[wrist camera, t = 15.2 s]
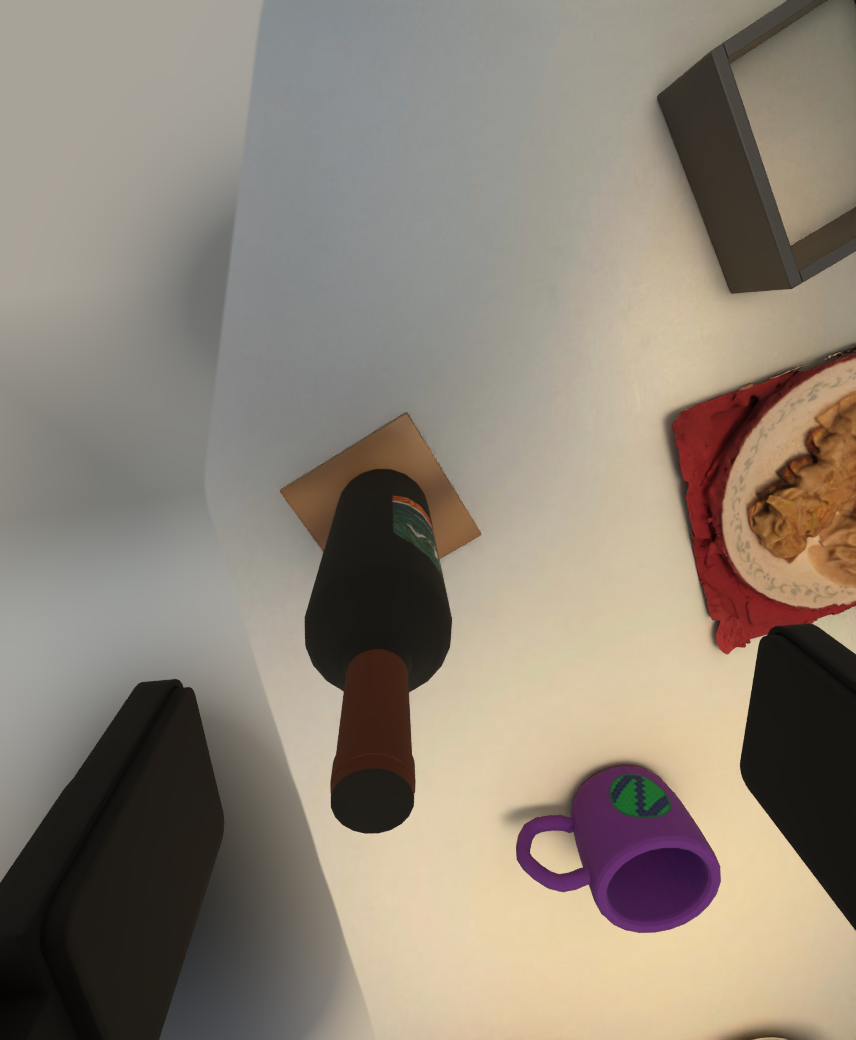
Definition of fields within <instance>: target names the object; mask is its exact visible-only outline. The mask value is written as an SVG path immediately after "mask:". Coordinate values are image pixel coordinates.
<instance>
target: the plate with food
mask: <svg viewBox="0 0 856 1040" xmlns="http://www.w3.org/2000/svg"><path fill="white" fill-rule="evenodd" d="M854 350H856V347H855V348H852V349H849V350H847V351H844V352H842V353H841V352H837V353H835V354H833V355H832V357H833V358H834V357H836V356H838V357H840V356H842V354H846V353H850V352H851V354H850V355H848V356H846V357H843V358H840V359H837V360H834V361H832V362H830V363H828V364H825V365H821V366H818V367H816V368H813V369H809V370H805V371H801V372H799V371H795V370H798V369H800V368H802V367H803V365H801V366H799V367H797V368H794V369H791V370H788V371H786V372H783V373H781V374H777V375H775V376H773V377H771V378H770V379H768V380H769V381H767V382H763V383H761V384H758V385H755V386H754V385H753V384H752V383H750V384H747V385H746V386H745V387H740V388H739V391H737V392H733V393H729V394H726V395H723V396H720V397H717V398H715V399H712V400H710V401H707V402H704V403H701V404H698V405H696V406H694V407H691V408H689V409H687V410H686V411H682V412H680V414H679V415H678V417H677V420H676V421H675V422H674V424H673V425H672V428H673V431H674V433H675V434H676V446H677V448H678V450H679V459H680V460H679V464H680V468H681V471H682V476H683V478H684V481H686V482H687V481H688V484H689V487H688V490H687V495H685V497H686V500H687V505H688V512H689V516H690V520H691V524H690V525H691V526H692V529H693V532H694V534H693V533H692V532H691V536H692V537H691V540H692V541H693V550H694V555H695V559H696V565H697V570H698V575H699V577H700V584H702V585H703V587H704V590H705V596H706V598H707V599H706V601H707V606H708V611H709V613H710V616H711V618H712V620H718V621H719V620H720V624H719V627H718V631H717V632H716V633H717V635H716V638H717V643H718V646H719V648H720V650H721V651H722V652H724V653H725V654H729V653H730V652H731V651H732V650H733V649H734V648H735V647H746V644H745V643H747V644H749V643H750V639H752V638H756V637H759V636H763V635H766V634H768V632H769V631H770V629H771V628H773V627H775V626H782V625H794V624H805V623H808V624H811V623H813V622H814V621H817V619H818V618H821V617H824V616H827V615H830V614H832V615H835V614H839V613H841V612H844V611H845V610H847V609H850V608H851V607H854V606H856V352H855V353H853V351H854ZM852 353H853V354H852ZM826 357H827V358H828V359H825V361H826V360H829V359H830V358H831V356H830V355H829V356H826ZM793 371H794V372H793ZM813 620H814V621H813Z"/></svg>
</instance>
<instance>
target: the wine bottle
mask: <svg viewBox="0 0 856 1040" xmlns="http://www.w3.org/2000/svg"><path fill="white" fill-rule="evenodd" d="M451 627H452V617H451V612H450V607H449V603H448V598H447V593H446V588H445V583H444V579H443V574H442V569H441V564H440V559H439V555H438V550H437V545H436V540H435V535H434V531H433V526H432V521H431V516H430V511H429V507H428V503H427V500H426V496H425V494H424V492H423V491H422V489H421V488H420V487H419V485H418V484H417V482H415V481H414V480H413V479H411V478H410V477H409V476H407V475H406V474H404V473H401V472H398V471H395V470H392V469H374V470H370V471H367V472H363V473H361V474H360V475H358V476H357V477H355V478H354V479H352V480H351V481H350V482H349V483H348V484H347V486H346V487H345V488H344V490H343V491H342V492H341V495H340V498H339V501H338V504H337V507H336V511H335V514H334V518H333V521H332V525H331V528H330V531H329V535H328V538H327V542H326V545H325V549H324V552H323V556H322V559H321V563H320V566H319V570H318V573H317V577H316V580H315V584H314V587H313V591H312V594H311V598H310V601H309V604H308V608H307V611H306V615H305V645H306V649H307V651H308V654H309V656H310V659H311V661H312V664H313V666H314V667H315V668H316V669H317V670H318V671H319V673H320V674H321V675H322V676H323V677H324V678H325V679H326V681H328V682H329V683H331V684H333V685H334V686H336V687H337V688H339V689H341V690H342V691H344V695H343V703H342V711H341V719H340V727H339V735H338V743H337V751H336V756H335V758H334V761H333V767H332V775H331V809H332V811H333V813H334V816H335V817H336V818H337V819H338V820H339V822H340V823H341V824H342V825H344V826H346V827H347V828H349V829H351V830H353V831H357V832H361V833H381V832H385V831H389V830H392V829H393V828H395V827H397V826H399V825H400V824H402V823H403V822H404V821H405V820H406V819H407V818H408V817H409V815H410V813H411V811H412V809H413V806H414V793H415V764H414V759H413V756H412V745H411V725H410V705H409V692H411V691H412V690H414V689H416V688H417V687H419V686H421V685H422V684H424V683H426V682H427V681H428V680H429V679H430V678H431V677H432V676H433V675H434V674H435V673H436V672H437V670H438V669H439V668H440V667H441V666H442V664H443V662H444V659H445V657H446V655H447V653H448V650H449V648H450V641H451Z"/></svg>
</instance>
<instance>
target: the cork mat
mask: <svg viewBox="0 0 856 1040" xmlns="http://www.w3.org/2000/svg"><path fill="white" fill-rule="evenodd" d="M374 469H392V470H395V471H398V472H401V473H404V474H406V475H407V476H409V477H410V478H411V479H413V480H414V481H415V482H417V484H418V485H419V487H420V488H421V489H422V491H423V492H424V494H425V496H426V500H427V503H428V507H429V511H430V516H431V521H432V526H433V531H434V535H435V540H436V545H437V550H438V555H439V559H440V558H442V557H444V556H446V555H447V554H449V553H451V552H453V551H454V550H456V549H458V548H460V547H461V546H463V545H465V544H466V543H468V542H470V541H472V540H473V539H475V538H477V537H479V536H480V535H481V532H480V531H479V529H478V528H477V526H476V524H475V523H474V521H473V519H472V518H471V516H470V514H469V513H468V511H467V510H466V508H465V506H464V505H463V503H462V501H461V500H460V498H459V496H458V495H457V493H456V492H455V490H454V488H453V487H452V485H451V483H450V482H449V480H448V478H447V477H446V475H445V474H444V472H443V470H442V469H441V467H440V465H439V464H438V462H437V460H436V459H435V457H434V456H433V454H432V452H431V451H430V449H429V447H428V446H427V444H426V442H425V441H424V439H423V437H422V436H421V434H420V433H419V431H418V429H417V428H416V426H415V424H414V423H413V421H412V419H411V418H410V416H409V415H408V413H407V412H406V413H404V414H403V415H401V416H399V417H398V418H396V419H394V420H393V421H391V422H390V423H388V424H386V425H385V426H383V427H382V428H380V429H378V430H377V431H375V432H373V433H372V434H370V435H369V436H367V437H365V438H364V439H362V440H360V441H359V442H357V443H356V444H354V445H352V446H351V447H349V448H347V449H346V450H344V451H343V452H341V453H339V454H338V455H336V456H335V457H333V458H331V459H330V460H328V461H326V462H325V463H323V464H322V465H320V466H318V467H317V468H315V469H313V470H312V471H310V472H309V473H307V474H305V475H304V476H302V477H300V478H299V479H297V480H296V481H294V482H292V483H291V484H289V485H287V486H286V487H284V488H283V489H281V490H280V492H281V494H282V495H283V497H284V498H285V499H286V501H287V502H288V503H289V505H290V506H291V508H292V509H293V510H294V512H295V513H296V514H297V516H298V517H299V519H300V520H301V521H302V523H303V524H304V525H305V527H306V528H307V530H308V531H309V532H310V534H311V535H312V536H313V538H314V539H315V541H316V542H317V543H318V545H319V546H320V547H321V549H322V550H323V552H324V549H325V545H326V542H327V538H328V535H329V531H330V528H331V525H332V521H333V518H334V514H335V511H336V507H337V504H338V501H339V498H340V495H341V492H342V491H343V490H344V488H345V487H346V486H347V484H348V483H349V482H350V481H351V480H352V479H354V478H355V477H357V476H358V475H360V474H361V473H363V472H367V471H370V470H374Z"/></svg>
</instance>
